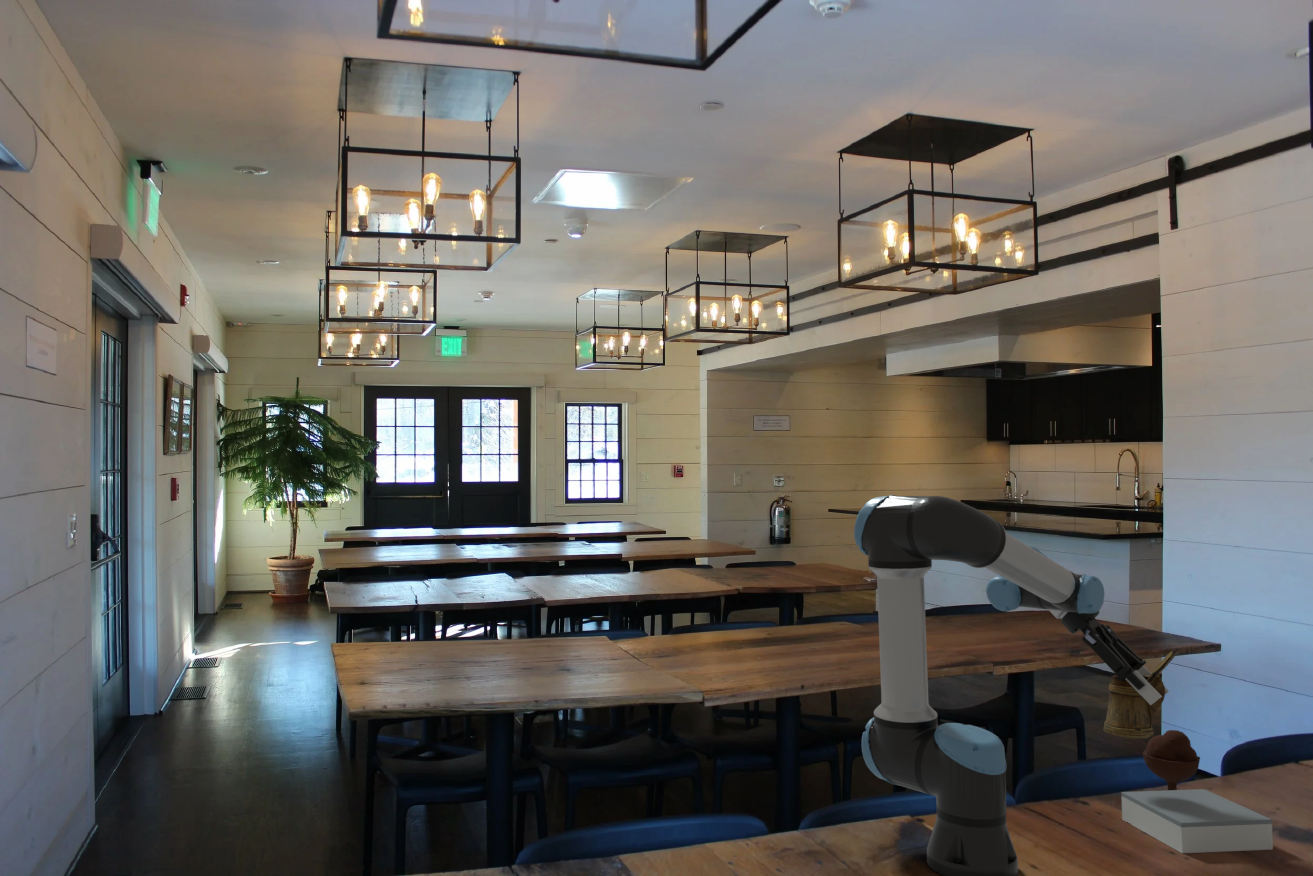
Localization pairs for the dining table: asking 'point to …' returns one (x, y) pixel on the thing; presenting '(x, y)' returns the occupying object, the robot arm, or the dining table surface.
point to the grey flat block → (1197, 821)
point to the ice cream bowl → (1171, 757)
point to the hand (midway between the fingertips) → (1159, 698)
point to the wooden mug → (1134, 705)
